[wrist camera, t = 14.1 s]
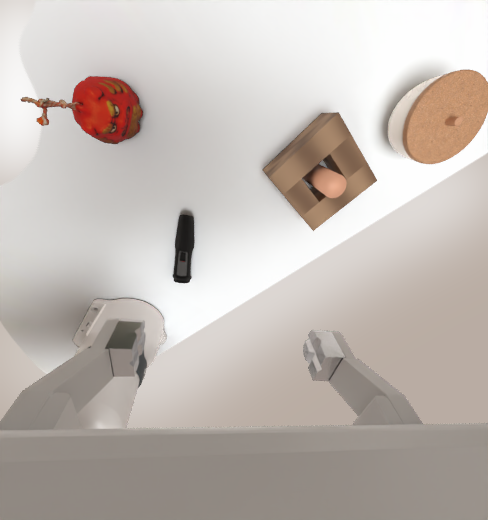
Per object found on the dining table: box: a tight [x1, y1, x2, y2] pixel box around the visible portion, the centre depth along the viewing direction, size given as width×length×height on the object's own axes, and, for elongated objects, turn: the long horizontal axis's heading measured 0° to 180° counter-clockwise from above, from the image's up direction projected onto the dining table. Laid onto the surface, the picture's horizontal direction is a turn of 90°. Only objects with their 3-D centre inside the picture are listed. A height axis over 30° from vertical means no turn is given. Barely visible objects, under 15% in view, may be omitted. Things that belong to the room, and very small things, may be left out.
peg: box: [303, 164, 347, 198], centre depth 36 cm, size 3×3×10 cm
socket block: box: [263, 113, 377, 231], centre depth 38 cm, size 12×12×6 cm
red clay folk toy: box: [21, 76, 143, 144], centre depth 27 cm, size 8×7×15 cm
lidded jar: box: [388, 70, 488, 164], centre depth 33 cm, size 11×11×9 cm
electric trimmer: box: [173, 215, 194, 283], centre depth 45 cm, size 4×16×3 cm, turn 168°
